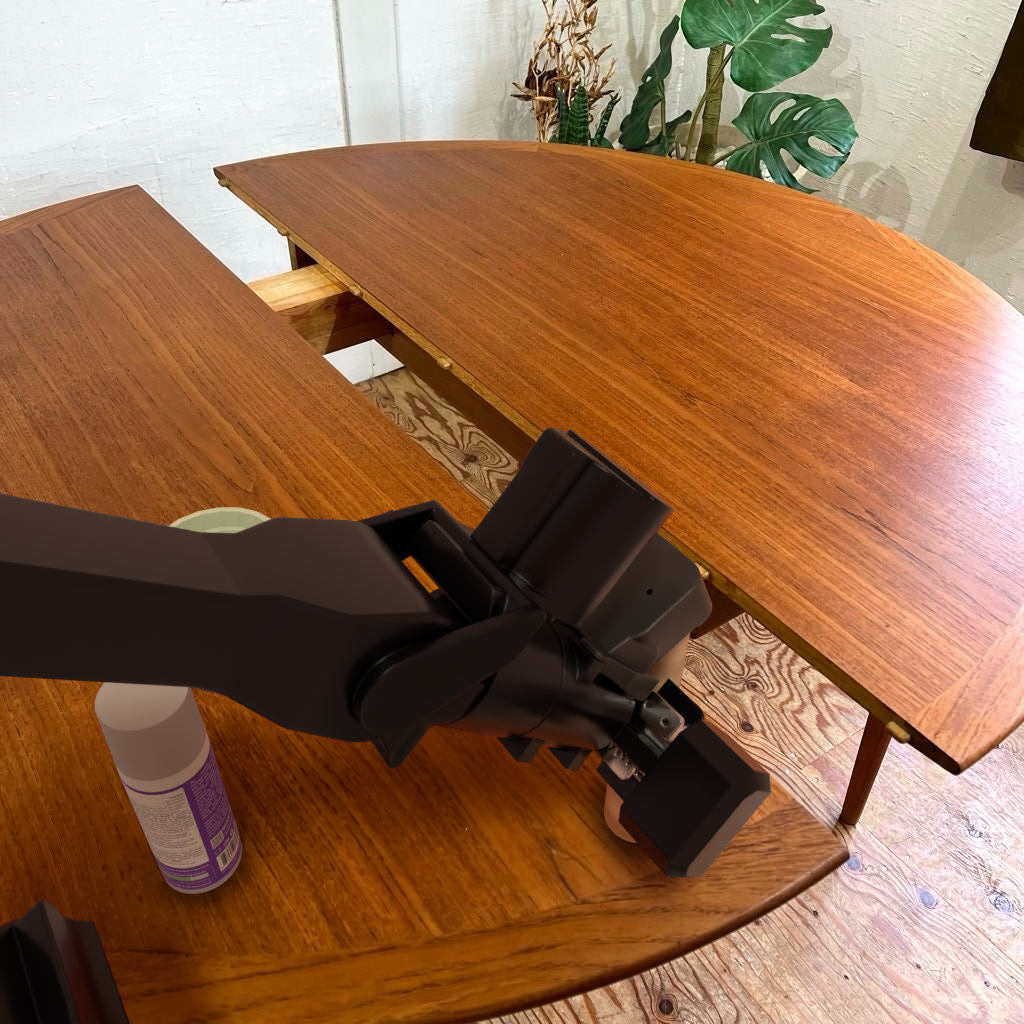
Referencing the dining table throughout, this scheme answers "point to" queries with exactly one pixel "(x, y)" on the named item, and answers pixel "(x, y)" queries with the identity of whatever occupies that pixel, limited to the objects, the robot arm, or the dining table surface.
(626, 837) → the pestle
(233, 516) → the bowl
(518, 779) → the dining table surface
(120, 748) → the container
